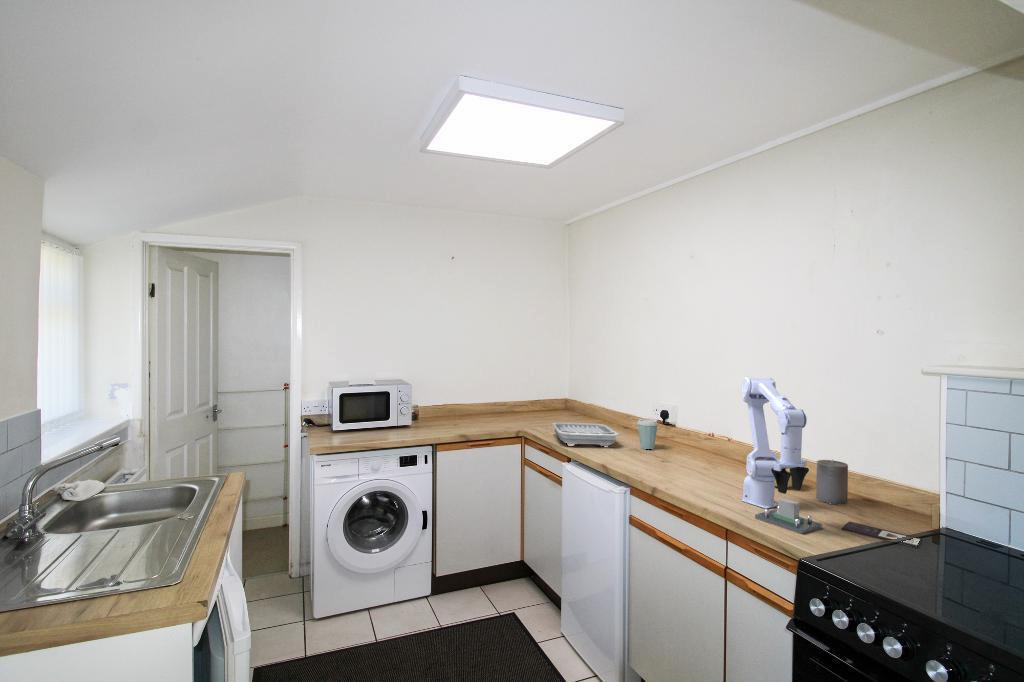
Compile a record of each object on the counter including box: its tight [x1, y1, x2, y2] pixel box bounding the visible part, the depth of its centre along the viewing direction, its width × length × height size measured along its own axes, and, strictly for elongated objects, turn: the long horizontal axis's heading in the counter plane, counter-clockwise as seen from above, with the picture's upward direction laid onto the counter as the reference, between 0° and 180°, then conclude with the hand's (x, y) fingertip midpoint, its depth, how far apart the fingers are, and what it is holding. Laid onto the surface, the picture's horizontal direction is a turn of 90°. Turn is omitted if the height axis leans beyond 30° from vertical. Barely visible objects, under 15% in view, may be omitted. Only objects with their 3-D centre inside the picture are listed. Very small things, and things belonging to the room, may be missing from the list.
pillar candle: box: [815, 459, 849, 505], centre depth 187 cm, size 10×10×15 cm
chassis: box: [754, 506, 823, 535], centre depth 163 cm, size 15×11×3 cm
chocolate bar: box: [841, 521, 922, 549], centre depth 155 cm, size 9×1×18 cm
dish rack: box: [551, 422, 620, 447], centre depth 280 cm, size 32×37×8 cm
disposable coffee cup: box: [636, 418, 659, 450], centre depth 266 cm, size 11×11×15 cm
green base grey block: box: [773, 498, 804, 524], centre depth 163 cm, size 7×4×6 cm, turn 31°
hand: (789, 491), depth 163 cm, fingers open, 7 cm apart
